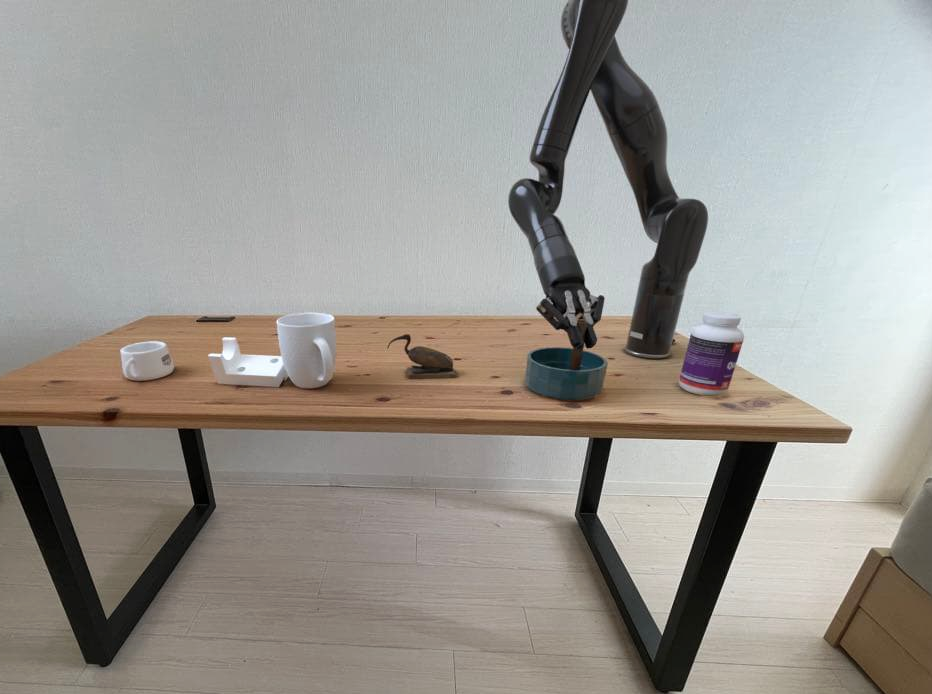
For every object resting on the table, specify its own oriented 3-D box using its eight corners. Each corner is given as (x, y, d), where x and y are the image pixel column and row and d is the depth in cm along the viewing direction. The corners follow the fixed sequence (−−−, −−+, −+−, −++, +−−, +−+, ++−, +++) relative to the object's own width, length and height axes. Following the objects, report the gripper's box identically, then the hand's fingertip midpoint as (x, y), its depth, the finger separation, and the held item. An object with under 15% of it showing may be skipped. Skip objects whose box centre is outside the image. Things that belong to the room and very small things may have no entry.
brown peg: (562, 377, 89) (571, 316, 84) (588, 381, 87) (599, 319, 82) (555, 385, 86) (564, 322, 81) (583, 390, 83) (594, 326, 78)
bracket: (219, 387, 92) (207, 356, 88) (234, 367, 98) (224, 337, 93) (279, 390, 90) (271, 359, 86) (291, 370, 96) (284, 339, 91)
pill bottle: (727, 401, 81) (752, 322, 75) (675, 392, 85) (696, 316, 79) (725, 387, 88) (749, 312, 82) (678, 379, 92) (696, 308, 86)
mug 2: (358, 391, 87) (354, 324, 82) (304, 404, 82) (297, 334, 76) (324, 369, 99) (319, 309, 93) (275, 380, 93) (267, 317, 88)
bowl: (535, 370, 97) (539, 343, 95) (607, 382, 90) (612, 353, 88) (514, 392, 86) (517, 362, 84) (594, 408, 79) (600, 376, 77)
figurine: (387, 379, 93) (387, 337, 90) (387, 371, 97) (386, 331, 94) (455, 377, 94) (457, 336, 90) (452, 370, 98) (454, 330, 94)
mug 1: (141, 366, 102) (134, 340, 100) (183, 366, 102) (177, 340, 99) (107, 386, 91) (98, 357, 89) (153, 386, 91) (146, 358, 88)
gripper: (533, 255, 82) (562, 339, 76) (600, 252, 85) (632, 333, 79) (516, 280, 89) (541, 359, 83) (578, 277, 92) (607, 353, 86)
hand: (586, 346), depth 81 cm, fingers closed on brown peg
